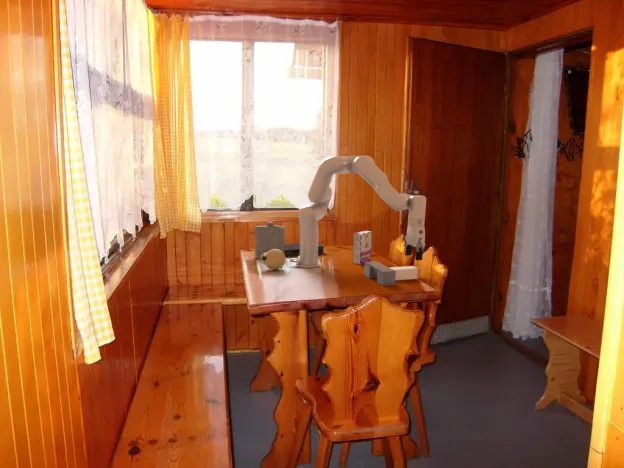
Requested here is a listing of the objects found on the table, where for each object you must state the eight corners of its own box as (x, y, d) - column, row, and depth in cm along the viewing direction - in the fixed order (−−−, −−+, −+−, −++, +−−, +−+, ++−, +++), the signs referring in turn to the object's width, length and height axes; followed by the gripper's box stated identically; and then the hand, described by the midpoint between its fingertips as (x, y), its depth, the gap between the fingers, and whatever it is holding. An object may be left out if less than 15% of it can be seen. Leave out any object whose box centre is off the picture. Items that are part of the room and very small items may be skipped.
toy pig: (262, 267, 255) (262, 246, 253) (286, 268, 255) (286, 247, 253) (259, 272, 245) (259, 250, 243) (284, 272, 245) (284, 251, 243)
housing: (382, 285, 225) (383, 271, 224) (364, 275, 244) (364, 261, 243) (395, 285, 227) (395, 270, 226) (375, 274, 246) (376, 261, 245)
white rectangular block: (391, 280, 235) (392, 270, 234) (387, 277, 240) (387, 267, 239) (418, 278, 239) (419, 268, 239) (413, 276, 244) (413, 265, 243)
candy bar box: (363, 260, 276) (364, 230, 273) (371, 261, 273) (372, 231, 271) (352, 263, 267) (353, 232, 265) (360, 265, 265) (361, 234, 262)
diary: (273, 252, 295) (273, 244, 294) (312, 249, 305) (312, 241, 305) (285, 258, 278) (285, 249, 277) (326, 255, 289) (326, 246, 288)
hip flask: (254, 258, 275) (254, 222, 271) (255, 256, 279) (255, 220, 275) (284, 259, 275) (284, 222, 271) (284, 257, 279) (284, 221, 275)
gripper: (433, 224, 230) (430, 261, 233) (413, 219, 246) (411, 253, 249) (418, 225, 227) (415, 262, 231) (400, 219, 244) (397, 253, 247)
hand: (413, 257), depth 240 cm, fingers open, 9 cm apart
